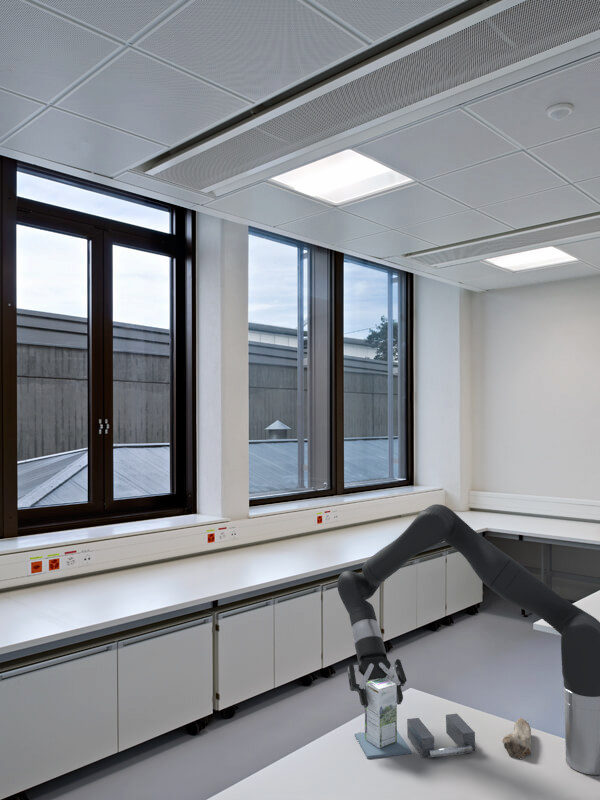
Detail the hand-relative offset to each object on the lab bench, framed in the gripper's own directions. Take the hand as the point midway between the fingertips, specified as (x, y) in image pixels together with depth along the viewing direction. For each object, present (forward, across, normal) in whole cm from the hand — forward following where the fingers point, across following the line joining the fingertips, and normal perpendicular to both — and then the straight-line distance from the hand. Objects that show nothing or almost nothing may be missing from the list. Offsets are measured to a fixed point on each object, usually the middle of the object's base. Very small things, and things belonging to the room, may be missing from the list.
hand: (383, 704), depth 155 cm
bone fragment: (+12, +32, +3) cm, 35 cm away
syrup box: (+6, 0, +8) cm, 10 cm away
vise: (+8, +14, +6) cm, 17 cm away
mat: (+6, 0, +8) cm, 10 cm away
